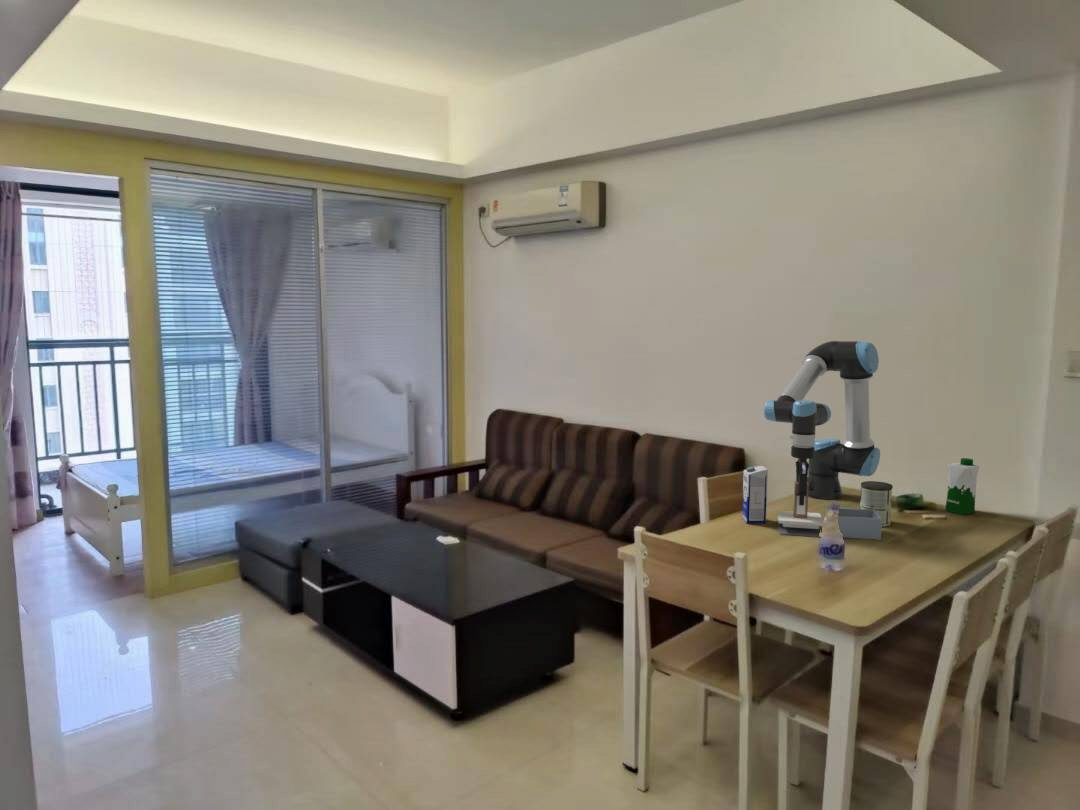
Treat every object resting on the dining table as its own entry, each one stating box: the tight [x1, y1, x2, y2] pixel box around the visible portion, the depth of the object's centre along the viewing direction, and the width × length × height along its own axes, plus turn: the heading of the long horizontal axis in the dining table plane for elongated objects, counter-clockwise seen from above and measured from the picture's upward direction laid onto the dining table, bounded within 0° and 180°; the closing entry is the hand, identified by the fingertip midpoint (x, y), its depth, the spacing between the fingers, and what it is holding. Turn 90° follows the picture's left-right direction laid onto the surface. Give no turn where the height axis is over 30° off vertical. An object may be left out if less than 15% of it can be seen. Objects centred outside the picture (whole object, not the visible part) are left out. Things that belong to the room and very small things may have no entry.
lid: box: [776, 481, 825, 529], centre depth 253 cm, size 13×15×15 cm
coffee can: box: [859, 480, 894, 528], centre depth 262 cm, size 10×10×14 cm
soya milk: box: [944, 457, 980, 516], centre depth 275 cm, size 9×9×20 cm
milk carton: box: [741, 465, 769, 525], centre depth 264 cm, size 7×7×20 cm
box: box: [837, 507, 882, 540], centre depth 250 cm, size 12×14×7 cm
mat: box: [776, 520, 821, 538], centre depth 254 cm, size 16×14×1 cm
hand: (800, 512), depth 254 cm, fingers closed on lid, 3 cm apart
